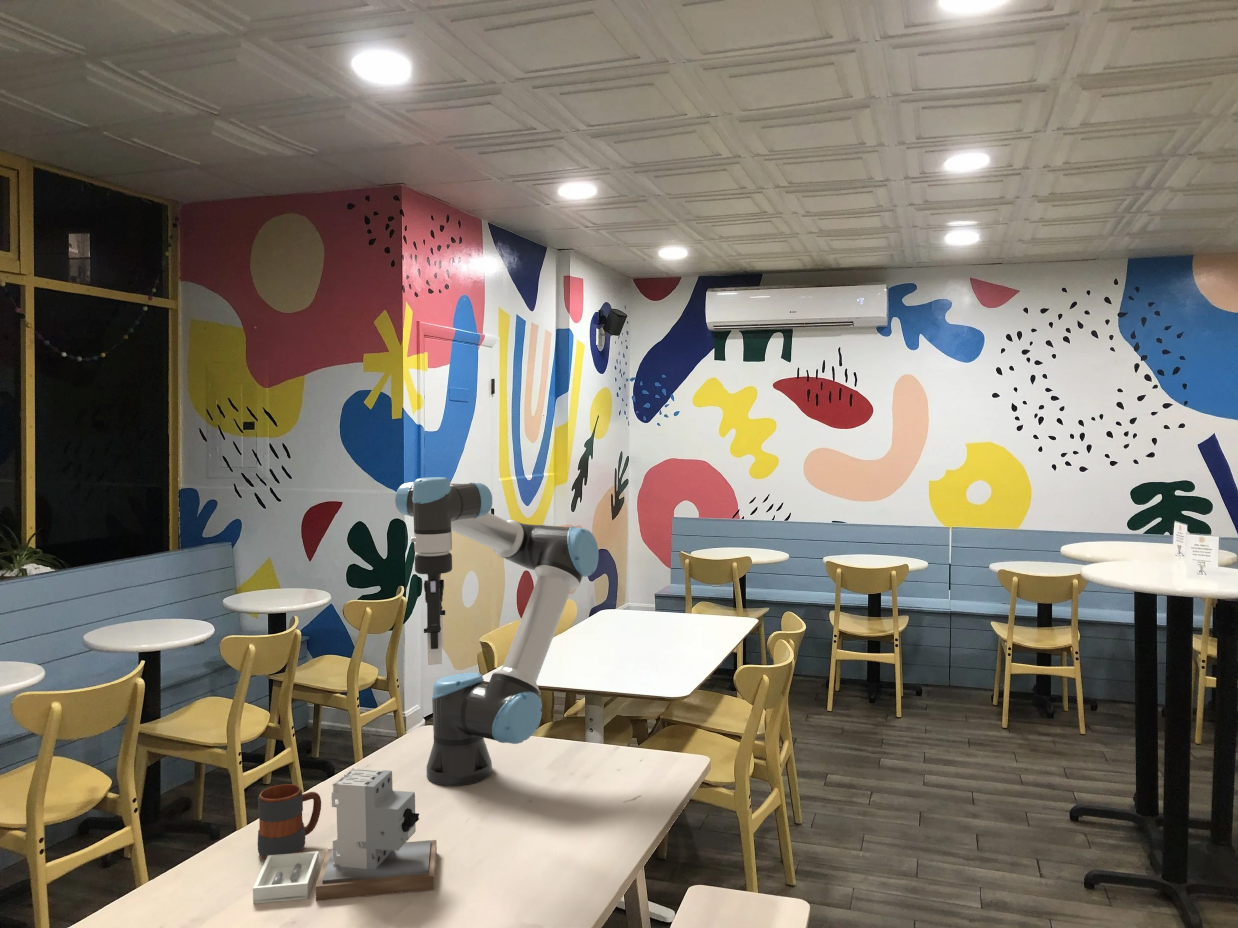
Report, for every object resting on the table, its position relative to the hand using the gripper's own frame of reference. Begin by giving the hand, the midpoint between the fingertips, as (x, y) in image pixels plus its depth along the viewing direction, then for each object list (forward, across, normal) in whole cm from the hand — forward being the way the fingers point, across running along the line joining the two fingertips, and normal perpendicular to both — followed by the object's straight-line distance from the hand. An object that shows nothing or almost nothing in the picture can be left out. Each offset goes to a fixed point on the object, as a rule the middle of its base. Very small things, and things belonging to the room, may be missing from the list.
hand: (435, 655), depth 186 cm
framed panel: (+34, +22, -10) cm, 42 cm away
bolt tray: (+34, +22, -26) cm, 48 cm away
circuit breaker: (+31, +22, -10) cm, 40 cm away
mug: (+34, +8, -28) cm, 45 cm away
